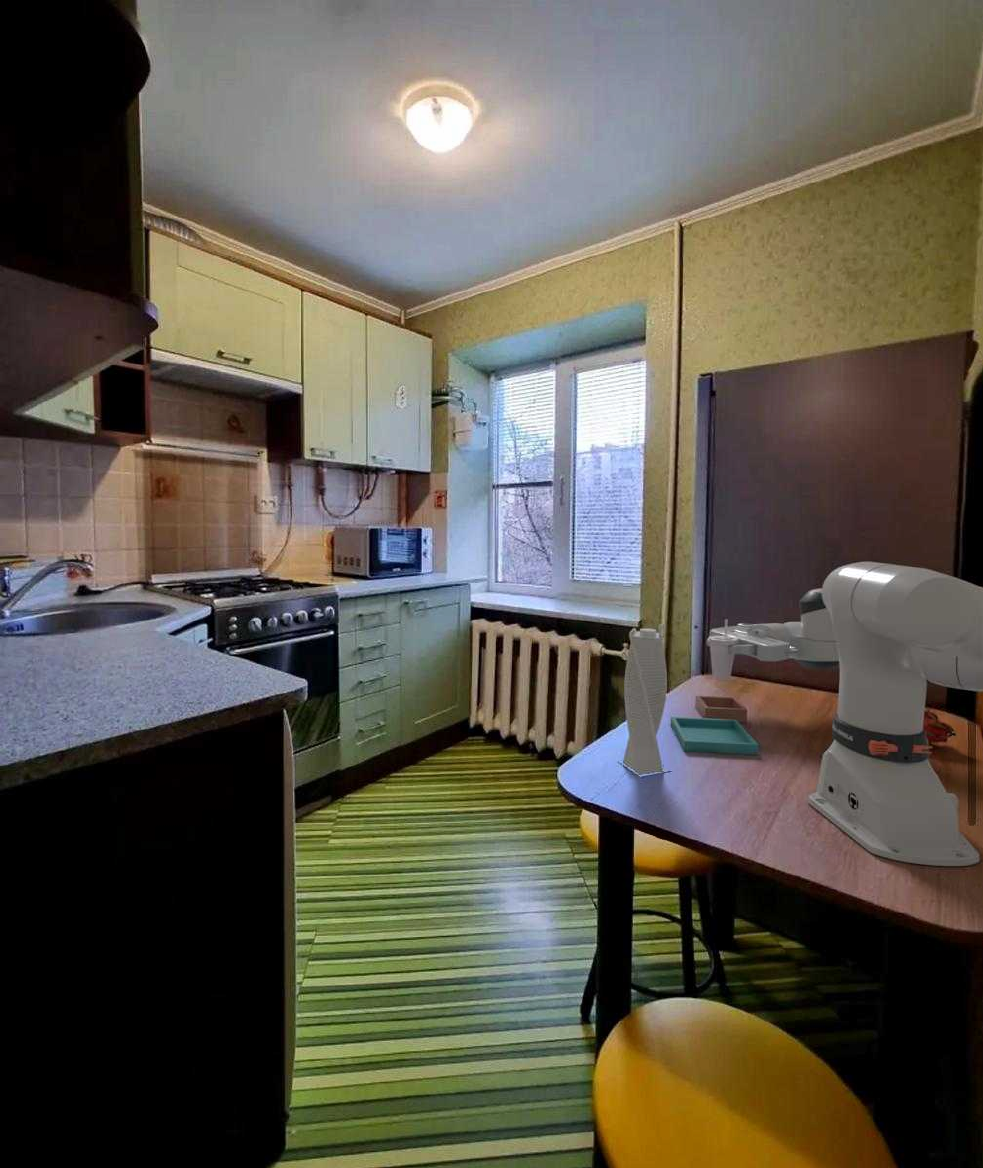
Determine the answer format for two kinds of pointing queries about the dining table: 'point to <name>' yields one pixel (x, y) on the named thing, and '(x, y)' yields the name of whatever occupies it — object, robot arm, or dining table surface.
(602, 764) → the dining table surface
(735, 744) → the tray
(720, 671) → the smoothie
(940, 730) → the dragon fruit
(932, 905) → the dining table surface
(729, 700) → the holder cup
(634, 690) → the skyscraper
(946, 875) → the dining table surface
